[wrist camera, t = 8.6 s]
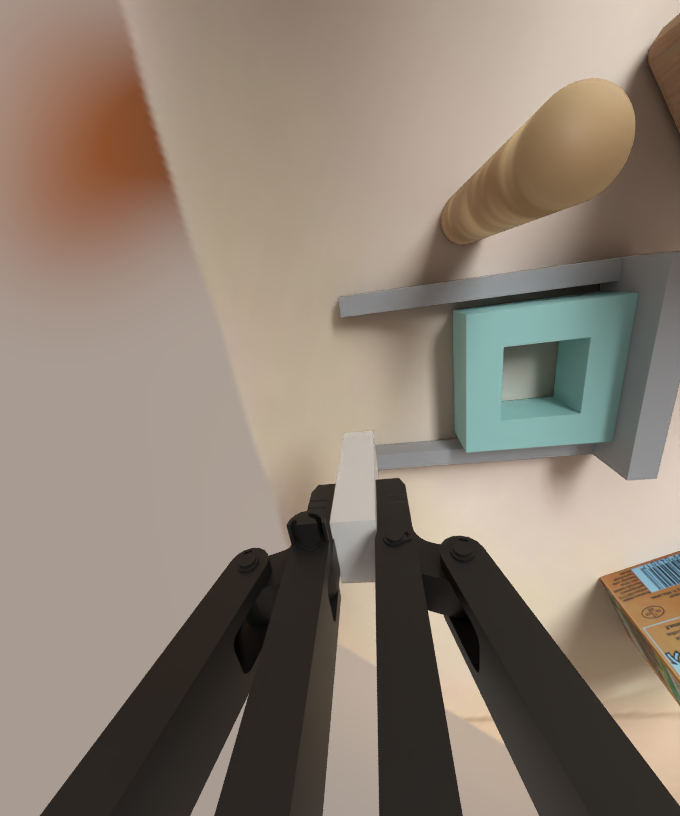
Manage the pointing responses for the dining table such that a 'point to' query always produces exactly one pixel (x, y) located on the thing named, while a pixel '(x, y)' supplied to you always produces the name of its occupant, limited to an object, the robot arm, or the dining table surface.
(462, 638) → the robot arm
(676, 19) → the block
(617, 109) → the dowel
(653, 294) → the track
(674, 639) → the milk carton
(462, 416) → the teal square ring
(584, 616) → the dining table surface
